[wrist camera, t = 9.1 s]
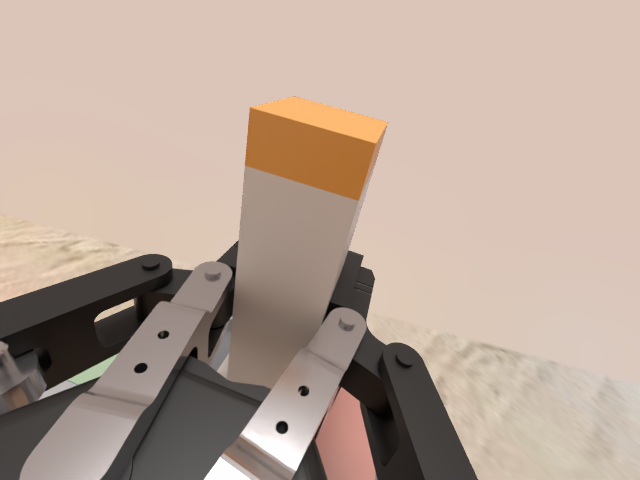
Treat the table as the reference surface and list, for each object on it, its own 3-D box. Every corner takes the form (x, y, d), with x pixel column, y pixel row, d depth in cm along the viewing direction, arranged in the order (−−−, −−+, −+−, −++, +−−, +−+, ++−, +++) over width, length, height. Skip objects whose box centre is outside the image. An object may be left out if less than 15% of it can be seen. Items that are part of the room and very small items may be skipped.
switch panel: (382, 377, 20) (396, 352, 18) (354, 612, 11) (375, 595, 10) (170, 296, 22) (168, 268, 20) (10, 446, 13) (-11, 413, 12)
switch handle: (327, 380, 17) (421, 128, 10) (304, 462, 13) (421, 162, 6) (241, 347, 17) (270, 87, 10) (197, 415, 14) (197, 98, 7)
